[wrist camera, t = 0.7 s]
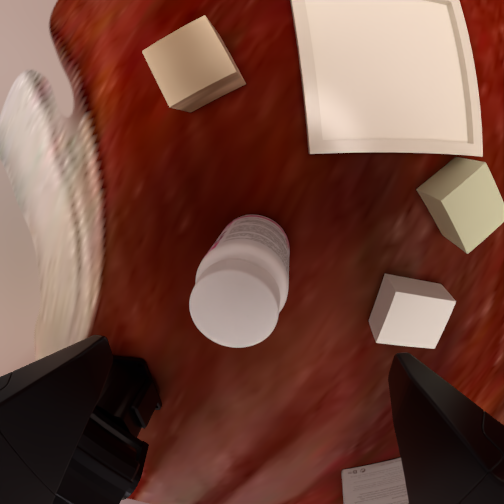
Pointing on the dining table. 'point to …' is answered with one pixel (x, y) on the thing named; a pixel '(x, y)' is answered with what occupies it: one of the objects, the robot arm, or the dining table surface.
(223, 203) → the dining table surface
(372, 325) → the white block
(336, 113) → the tray
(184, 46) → the beech block
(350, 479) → the supplement box
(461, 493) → the robot arm
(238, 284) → the pill bottle
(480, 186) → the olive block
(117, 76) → the dining table surface
